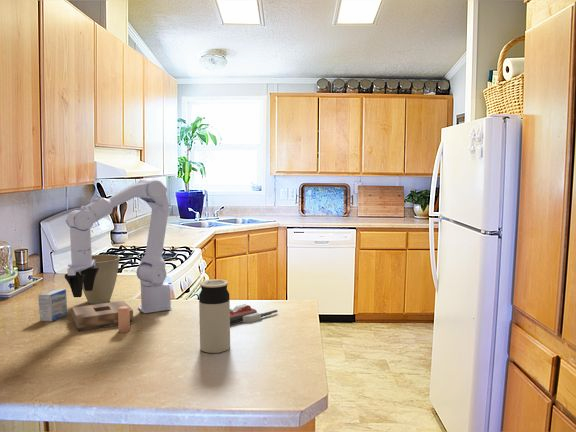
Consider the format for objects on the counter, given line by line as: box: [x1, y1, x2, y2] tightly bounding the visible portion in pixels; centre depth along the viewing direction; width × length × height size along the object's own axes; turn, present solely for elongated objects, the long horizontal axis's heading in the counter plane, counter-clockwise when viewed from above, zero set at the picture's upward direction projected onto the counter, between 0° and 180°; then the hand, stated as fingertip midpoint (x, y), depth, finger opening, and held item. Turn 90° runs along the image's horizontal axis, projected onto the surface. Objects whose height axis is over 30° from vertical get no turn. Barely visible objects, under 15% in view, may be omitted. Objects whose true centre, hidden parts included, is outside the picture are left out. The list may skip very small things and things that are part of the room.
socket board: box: [71, 300, 134, 332], centre depth 154 cm, size 16×13×4 cm
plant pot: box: [79, 254, 120, 305], centre depth 176 cm, size 15×15×16 cm
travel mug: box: [198, 278, 231, 354], centre depth 130 cm, size 8×8×18 cm
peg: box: [118, 306, 131, 334], centre depth 145 cm, size 3×3×7 cm
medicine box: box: [37, 288, 68, 323], centre depth 157 cm, size 8×4×9 cm, turn 168°
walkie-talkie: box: [230, 303, 279, 326], centre depth 157 cm, size 9×4×20 cm
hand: (83, 293), depth 149 cm, fingers open, 7 cm apart
